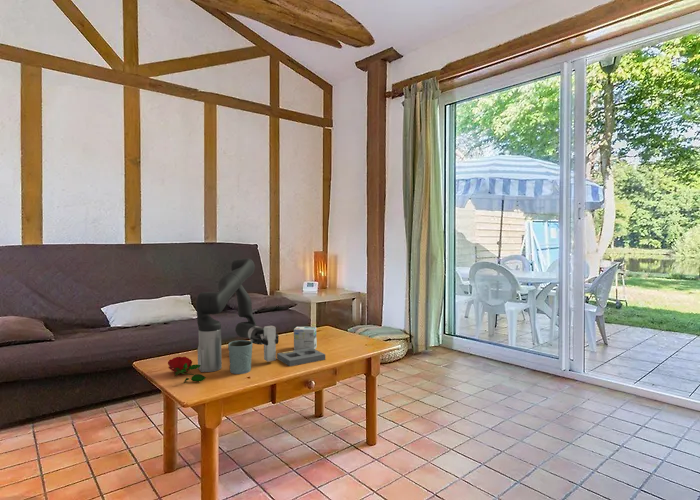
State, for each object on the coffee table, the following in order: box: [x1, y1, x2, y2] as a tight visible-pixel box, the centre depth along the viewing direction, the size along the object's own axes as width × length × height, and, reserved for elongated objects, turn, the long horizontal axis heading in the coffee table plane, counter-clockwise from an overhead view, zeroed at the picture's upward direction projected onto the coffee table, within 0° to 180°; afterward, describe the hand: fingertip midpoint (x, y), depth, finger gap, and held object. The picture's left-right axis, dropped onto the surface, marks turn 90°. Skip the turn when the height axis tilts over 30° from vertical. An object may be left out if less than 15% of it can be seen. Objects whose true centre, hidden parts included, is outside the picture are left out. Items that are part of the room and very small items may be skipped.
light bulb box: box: [293, 326, 318, 351], centre depth 216 cm, size 11×7×11 cm, turn 84°
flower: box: [167, 356, 207, 384], centre depth 171 cm, size 9×9×30 cm
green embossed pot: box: [227, 339, 254, 375], centre depth 181 cm, size 10×10×12 cm
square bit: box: [263, 325, 277, 363], centre depth 192 cm, size 4×4×15 cm
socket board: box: [276, 348, 326, 367], centre depth 198 cm, size 18×14×3 cm
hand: (272, 342), depth 190 cm, fingers closed on square bit, 4 cm apart
